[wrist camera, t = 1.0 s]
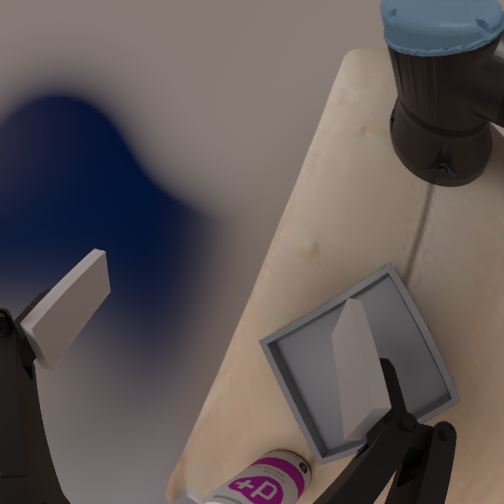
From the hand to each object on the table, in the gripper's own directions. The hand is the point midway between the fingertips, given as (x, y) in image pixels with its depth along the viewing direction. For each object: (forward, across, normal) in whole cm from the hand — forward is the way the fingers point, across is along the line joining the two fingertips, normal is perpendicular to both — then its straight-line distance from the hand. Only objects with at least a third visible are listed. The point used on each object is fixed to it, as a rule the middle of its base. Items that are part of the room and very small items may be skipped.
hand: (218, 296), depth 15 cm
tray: (+10, +16, -15) cm, 25 cm away
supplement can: (+2, +11, -32) cm, 34 cm away
